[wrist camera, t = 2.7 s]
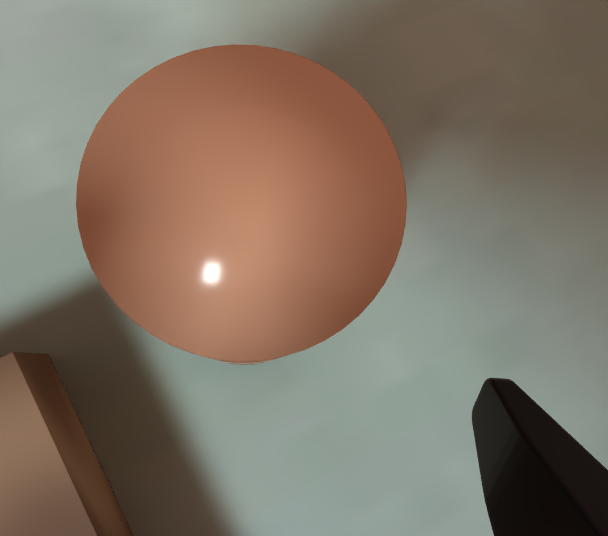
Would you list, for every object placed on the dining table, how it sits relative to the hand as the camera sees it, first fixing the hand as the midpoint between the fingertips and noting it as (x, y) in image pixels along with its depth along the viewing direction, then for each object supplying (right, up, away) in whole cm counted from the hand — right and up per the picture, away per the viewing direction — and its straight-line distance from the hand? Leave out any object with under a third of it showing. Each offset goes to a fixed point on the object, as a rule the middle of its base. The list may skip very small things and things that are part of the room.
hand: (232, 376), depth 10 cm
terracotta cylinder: (-1, +1, +10) cm, 11 cm away
